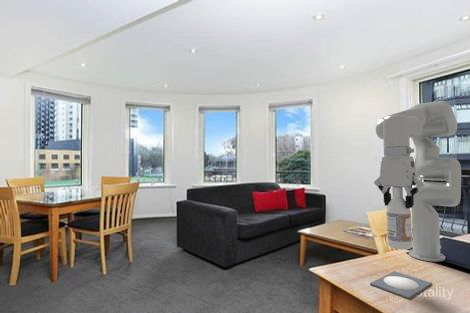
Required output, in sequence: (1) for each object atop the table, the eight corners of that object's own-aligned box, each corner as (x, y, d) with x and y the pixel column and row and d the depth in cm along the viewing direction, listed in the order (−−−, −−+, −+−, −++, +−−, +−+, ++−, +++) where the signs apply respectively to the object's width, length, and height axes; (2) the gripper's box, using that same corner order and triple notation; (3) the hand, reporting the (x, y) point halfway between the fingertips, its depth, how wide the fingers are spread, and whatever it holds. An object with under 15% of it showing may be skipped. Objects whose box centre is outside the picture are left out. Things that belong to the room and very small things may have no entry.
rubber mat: (394, 272, 101) (394, 270, 101) (431, 284, 91) (431, 282, 92) (370, 284, 92) (370, 282, 92) (408, 299, 83) (408, 297, 83)
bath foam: (405, 251, 87) (403, 188, 88) (383, 246, 93) (381, 186, 93) (415, 247, 91) (413, 186, 91) (394, 242, 97) (392, 185, 97)
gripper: (431, 151, 87) (432, 208, 87) (377, 153, 102) (378, 202, 101) (420, 151, 83) (422, 211, 83) (365, 153, 97) (367, 204, 97)
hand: (398, 205), depth 92 cm, fingers closed on bath foam, 6 cm apart
